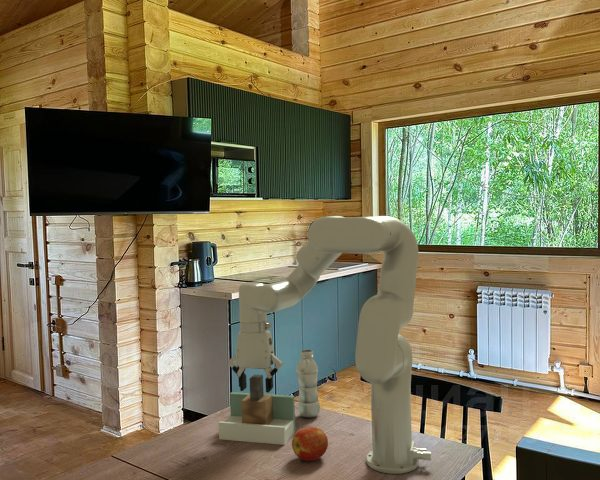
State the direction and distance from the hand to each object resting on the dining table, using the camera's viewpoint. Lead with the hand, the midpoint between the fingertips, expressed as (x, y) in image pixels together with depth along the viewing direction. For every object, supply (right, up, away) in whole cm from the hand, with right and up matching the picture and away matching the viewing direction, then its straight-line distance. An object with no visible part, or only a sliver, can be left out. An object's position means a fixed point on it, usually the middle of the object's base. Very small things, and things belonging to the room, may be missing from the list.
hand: (256, 389), depth 152 cm
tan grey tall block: (+1, -9, 0) cm, 9 cm away
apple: (+15, -13, -16) cm, 25 cm away
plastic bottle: (+15, -12, +13) cm, 23 cm away
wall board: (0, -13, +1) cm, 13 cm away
